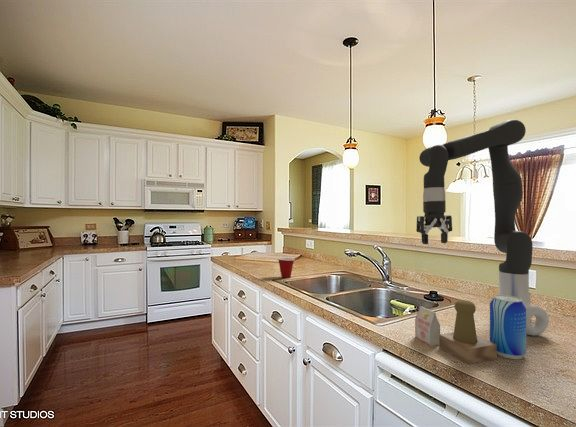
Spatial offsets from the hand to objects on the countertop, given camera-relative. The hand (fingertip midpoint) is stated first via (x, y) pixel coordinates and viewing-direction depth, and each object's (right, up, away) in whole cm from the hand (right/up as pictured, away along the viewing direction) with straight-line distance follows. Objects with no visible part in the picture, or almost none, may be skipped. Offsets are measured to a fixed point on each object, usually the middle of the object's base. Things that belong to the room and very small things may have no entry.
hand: (434, 243), depth 112 cm
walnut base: (-3, -29, -26) cm, 39 cm away
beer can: (+8, -29, -26) cm, 40 cm away
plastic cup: (-56, -29, +76) cm, 98 cm away
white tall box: (-11, -29, -17) cm, 35 cm away
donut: (+26, -29, -14) cm, 41 cm away
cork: (-4, -25, -26) cm, 36 cm away
